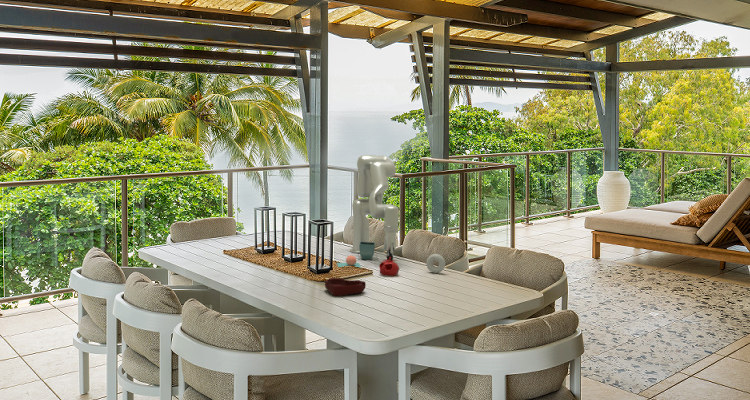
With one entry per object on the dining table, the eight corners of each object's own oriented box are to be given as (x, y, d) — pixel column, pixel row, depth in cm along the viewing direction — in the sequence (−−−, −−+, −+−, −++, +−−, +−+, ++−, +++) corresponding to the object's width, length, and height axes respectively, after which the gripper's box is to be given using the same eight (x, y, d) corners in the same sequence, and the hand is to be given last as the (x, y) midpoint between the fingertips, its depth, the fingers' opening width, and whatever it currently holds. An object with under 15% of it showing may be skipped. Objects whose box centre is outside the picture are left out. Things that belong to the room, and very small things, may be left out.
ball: (356, 261, 356) (347, 266, 355) (352, 252, 355) (343, 257, 354) (359, 263, 351) (349, 268, 350) (354, 254, 350) (345, 259, 349)
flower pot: (374, 260, 369) (375, 244, 368) (358, 260, 369) (359, 244, 368) (374, 257, 378) (375, 242, 377) (359, 257, 378) (359, 241, 377)
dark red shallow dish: (315, 295, 287) (316, 283, 287) (331, 287, 303) (331, 276, 302) (353, 300, 281) (354, 288, 280) (367, 292, 296) (368, 281, 296)
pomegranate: (388, 272, 340) (389, 254, 339) (402, 275, 333) (403, 257, 332) (374, 274, 333) (375, 256, 332) (388, 277, 326) (389, 258, 325)
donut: (445, 273, 341) (446, 254, 340) (443, 274, 338) (444, 255, 337) (426, 271, 345) (427, 252, 344) (425, 272, 342) (425, 253, 341)
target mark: (336, 263, 358) (336, 262, 358) (358, 263, 360) (358, 262, 360) (338, 267, 346) (338, 267, 346) (361, 267, 348) (361, 267, 348)
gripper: (381, 227, 361) (380, 260, 363) (386, 231, 346) (384, 265, 348) (395, 227, 362) (394, 260, 364) (400, 231, 347) (398, 265, 349)
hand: (389, 263), depth 356 cm, fingers closed
